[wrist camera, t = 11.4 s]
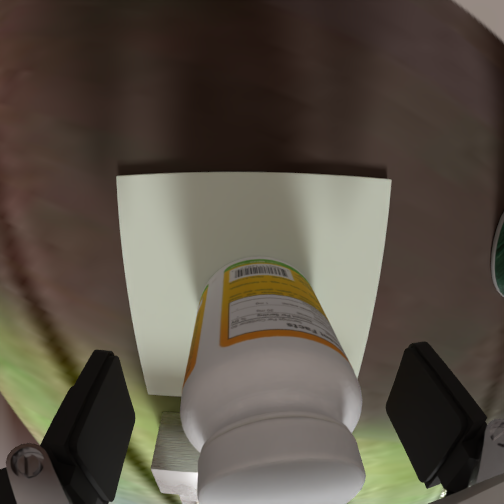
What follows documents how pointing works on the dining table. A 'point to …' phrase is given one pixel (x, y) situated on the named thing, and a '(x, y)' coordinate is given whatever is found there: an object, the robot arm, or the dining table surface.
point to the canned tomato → (498, 257)
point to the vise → (175, 460)
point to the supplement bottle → (269, 392)
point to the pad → (245, 250)
